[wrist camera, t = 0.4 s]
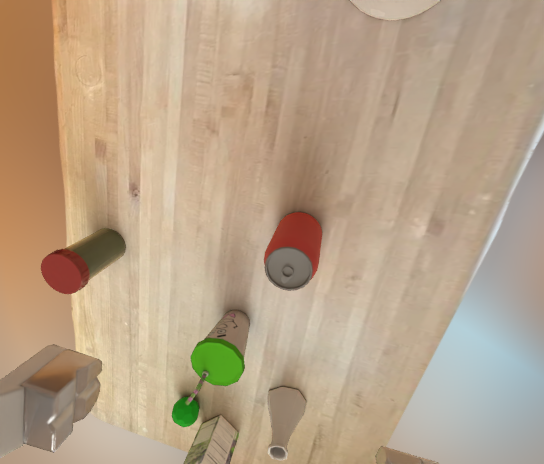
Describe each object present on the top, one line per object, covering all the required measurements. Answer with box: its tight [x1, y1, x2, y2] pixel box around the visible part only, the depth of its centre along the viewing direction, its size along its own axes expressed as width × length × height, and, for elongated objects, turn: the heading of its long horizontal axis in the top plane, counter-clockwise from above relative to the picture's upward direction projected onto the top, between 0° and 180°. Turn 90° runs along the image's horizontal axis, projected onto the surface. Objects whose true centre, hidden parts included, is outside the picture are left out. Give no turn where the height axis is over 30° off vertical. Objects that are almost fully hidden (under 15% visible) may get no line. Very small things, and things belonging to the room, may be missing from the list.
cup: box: [185, 310, 250, 405], centre depth 51 cm, size 8×8×15 cm
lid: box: [41, 249, 90, 294], centre depth 47 cm, size 6×6×2 cm
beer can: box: [264, 212, 322, 291], centre depth 44 cm, size 7×7×12 cm
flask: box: [268, 387, 306, 460], centre depth 57 cm, size 7×7×10 cm
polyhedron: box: [172, 397, 199, 427], centre depth 64 cm, size 5×5×5 cm
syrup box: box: [184, 415, 239, 464], centre depth 61 cm, size 6×6×14 cm
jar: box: [65, 228, 126, 280], centre depth 52 cm, size 6×6×10 cm
